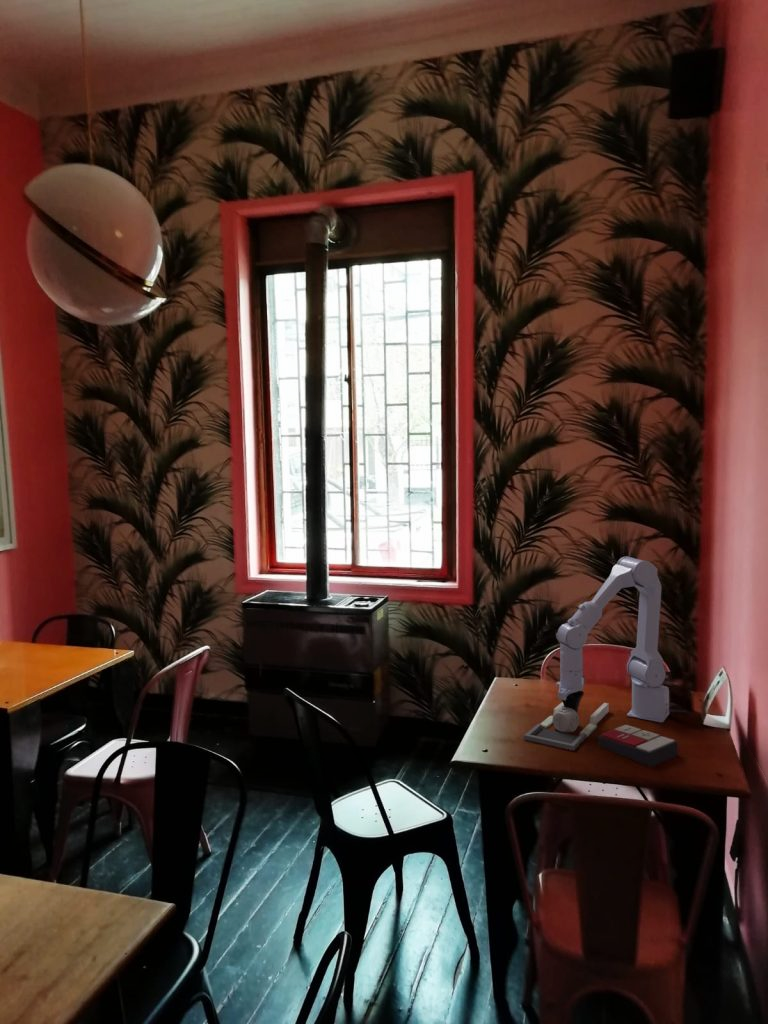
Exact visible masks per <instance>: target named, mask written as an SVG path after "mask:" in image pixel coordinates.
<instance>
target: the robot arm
mask: <svg viewBox="0 0 768 1024" xmlns="http://www.w3.org/2000/svg"><path fill="white" fill-rule="evenodd" d="M658 570H659V569H658V567H656V566H655V564H653V563H652V562H650V561H648V560H644V559H643V560H642V559H639V558H634V557H632V556H627V555H626V556H623V557H620V558H619V560H618V561H617V563H615V565H613V567H612V569H611V571H610V574H609V576H608V577H607V578H606V580H605V582H603V584H602V585H601V587H600V588H599V590H598V591H597V592H596V594H595V595H594V596H593V597H592V599H591V600H590V601H584V602H583V603H581V604H579V605H578V607H577V608H578V609H577V611H575V613H574V614H573V615H572V616H571V618H569V619H568V620H567V622H566V623H563V624H561V625H560V626H559V628H558V630H557V632H556V633H555V637H556V639H557V641H558V642H559V648H560V649H559V650H560V651H559V653H560V654H559V655H560V658H559V659H560V660H559V664H560V665H559V666H560V671H559V673H560V674H559V675H560V678H559V680H560V681H557V682H556V683H555V685H556V687H559V689H558V691H557V699H558V700H561V701H562V702H563V704H564V707H566V708H571V709H574V710H575V711H576V713H577V714H578V711H579V706H580V703H581V700H582V698H583V696H584V693H585V692H584V691H582V690H583V689H584V685H585V678H584V677H583V647H584V645H586V643H587V640H588V635H589V632H590V631H591V630H592V629H593V628H594V627H595V626H596V624H597V622H598V621H599V620H600V619H601V618H602V616H603V609H604V607H605V606H606V605H607V604H608V603H609V602H610V601H611V600H612V599H613V598H615V597H614V596H616V595H617V593H619V592H620V591H621V589H625V588H630V587H631V588H632V587H635V588H636V589H637V590H638V591H639V596H638V597H639V599H638V614H637V630H636V646H635V648H633V649H632V650H631V651H630V656H629V659H628V660H627V664H626V671H627V673H628V674H629V675H630V676H631V677H630V679H631V709H630V710H629V712H627V714H626V716H627V717H630V718H631V717H632V718H637V719H640V720H641V719H642V720H645V721H646V720H647V721H652V722H657V723H664V722H665V720H666V719H667V718H668V716H669V715H670V689H669V687H668V686H666V685H665V686H664V685H663V683H664V681H665V679H666V670H665V667H664V659H663V657H662V655H661V654H660V652H659V651H658V649H659V647H658V645H659V631H660V630H659V629H660V628H659V627H660V617H661V616H660V615H661V602H662V601H661V599H662V584H661V580H660V579H659V576H658ZM562 702H561V703H562Z"/></svg>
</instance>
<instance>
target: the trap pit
mask: <svg viewBox="0 0 768 1024" xmlns="http://www.w3.org/2000/svg"><path fill="white" fill-rule="evenodd" d="M523 737H524V738H523V739H524V741H529V742H534V743H538V744H542V745H545V746H551V747H554V746H555V748H559V749H563V748H564V749H565V750H568V749H569V750H568V751H572V750H573V752H574V751H575V750H576V749H577V748H578V747H579V746H580V745H581V744H582V743H583V742H584V741H585V740H586V739H587V737H586V734H585V733H582V734H581V735H580V734H579V735H575V734H570V733H567V732H561V731H556V730H552V729H548V728H543V727H542V724H541V723H537V724H536V725H534V726H533V727H532V728H530V730H529V731H527V732H526V733H525V734H524V735H523ZM584 739H585V740H584ZM581 742H582V743H581ZM580 743H581V744H580ZM579 744H580V745H579Z"/></svg>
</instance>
